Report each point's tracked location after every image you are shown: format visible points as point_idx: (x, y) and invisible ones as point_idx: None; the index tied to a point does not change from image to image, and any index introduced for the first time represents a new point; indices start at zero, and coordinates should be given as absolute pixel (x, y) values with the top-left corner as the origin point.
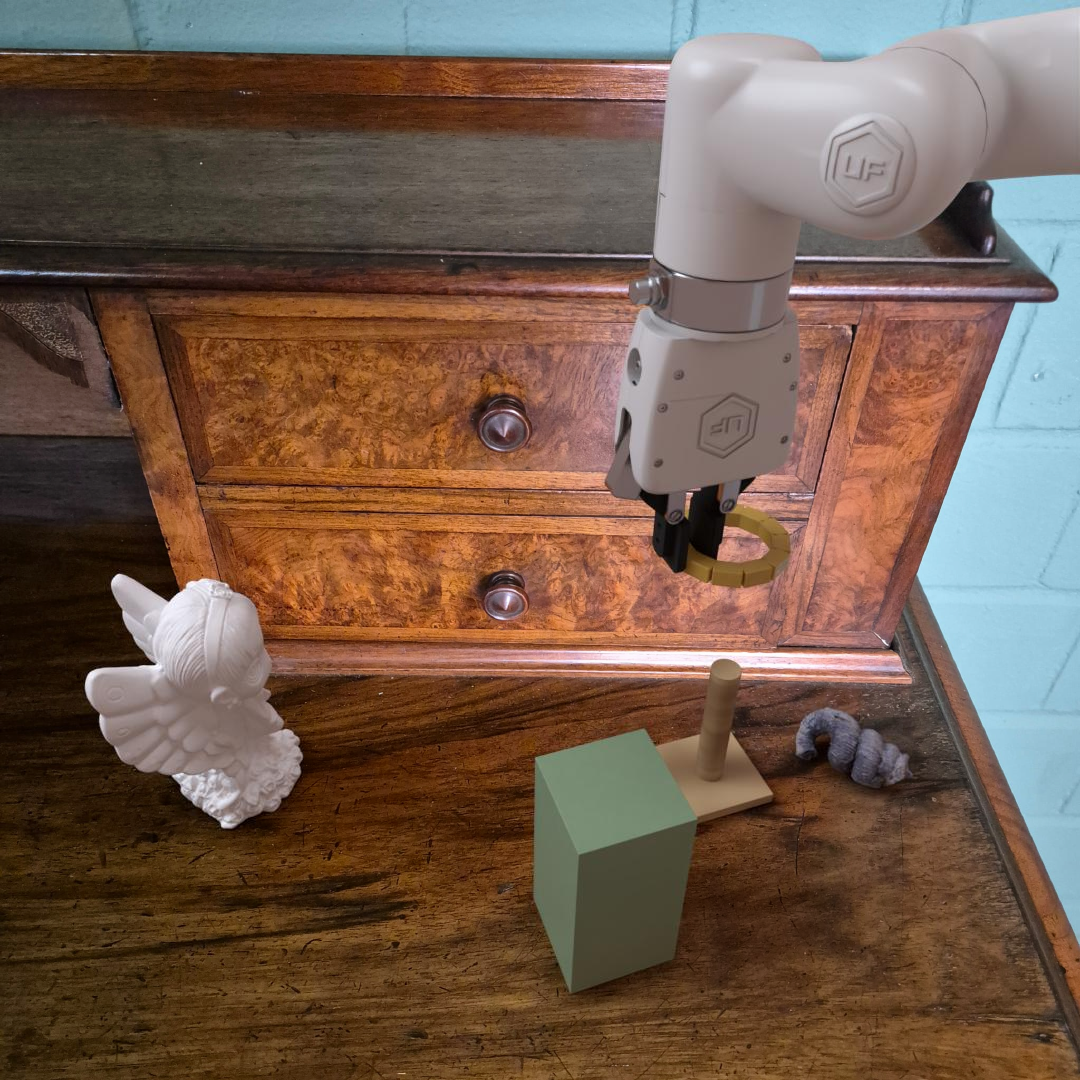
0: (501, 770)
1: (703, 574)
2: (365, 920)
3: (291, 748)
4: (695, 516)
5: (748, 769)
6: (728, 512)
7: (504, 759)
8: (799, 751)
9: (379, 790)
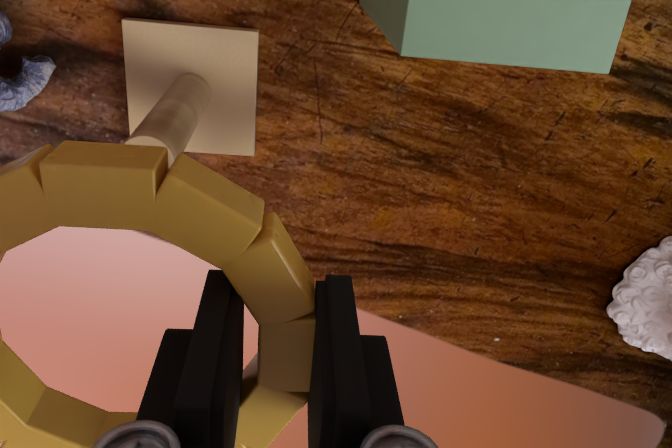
0: (428, 197)
1: (281, 237)
2: (659, 70)
3: (631, 299)
4: (230, 446)
5: (136, 71)
6: (138, 422)
7: (417, 210)
8: (49, 66)
9: (561, 221)
